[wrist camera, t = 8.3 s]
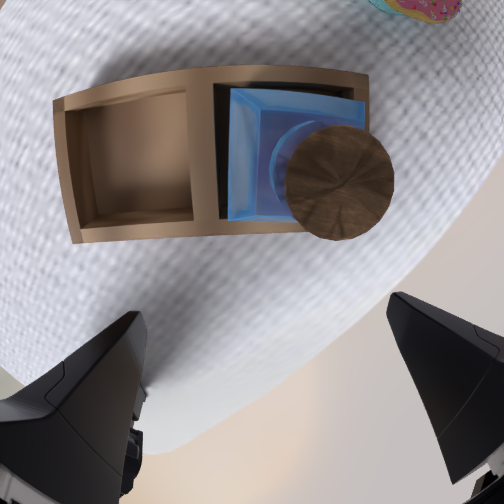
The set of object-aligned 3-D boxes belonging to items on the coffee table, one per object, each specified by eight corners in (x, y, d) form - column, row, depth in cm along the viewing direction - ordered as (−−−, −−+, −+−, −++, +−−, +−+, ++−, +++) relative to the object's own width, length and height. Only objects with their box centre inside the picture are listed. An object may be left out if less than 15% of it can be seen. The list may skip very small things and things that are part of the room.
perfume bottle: (325, 107, 17) (442, 97, 6) (319, 194, 19) (410, 284, 8) (232, 100, 16) (225, 56, 5) (230, 191, 19) (222, 288, 8)
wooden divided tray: (95, 223, 20) (72, 243, 17) (81, 101, 16) (52, 100, 12) (341, 211, 21) (361, 230, 17) (344, 82, 17) (368, 74, 13)
